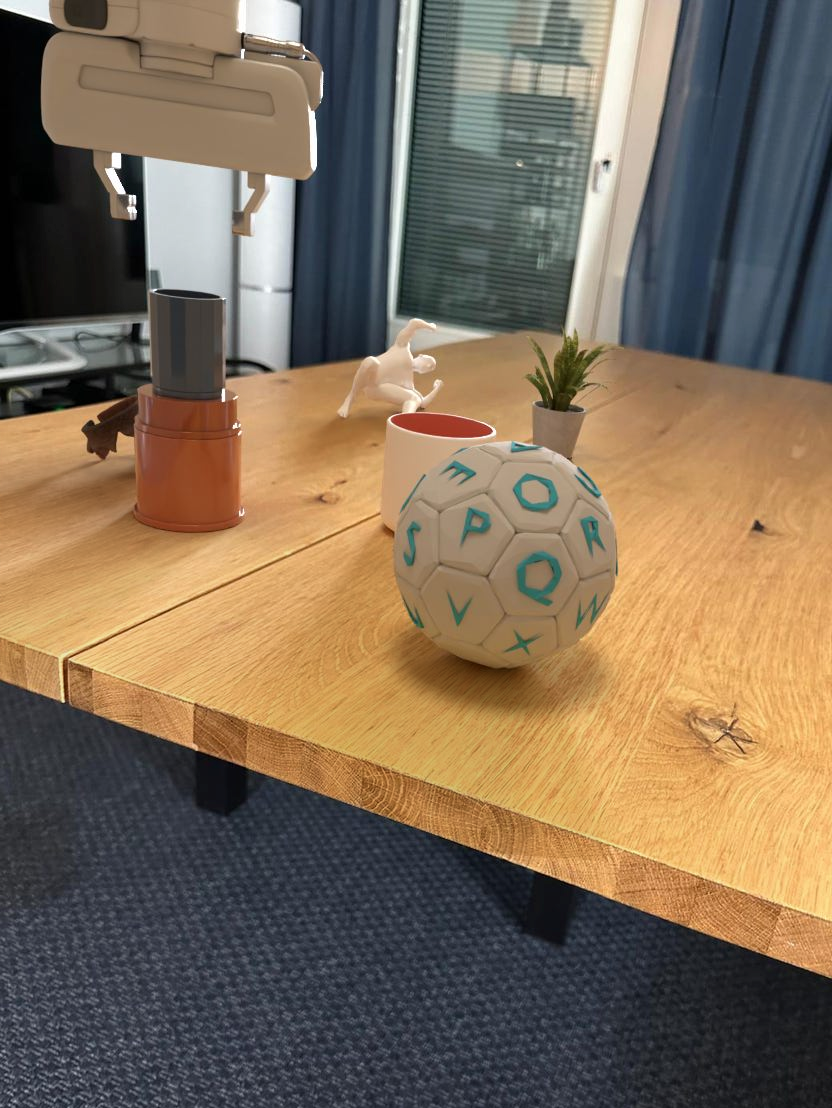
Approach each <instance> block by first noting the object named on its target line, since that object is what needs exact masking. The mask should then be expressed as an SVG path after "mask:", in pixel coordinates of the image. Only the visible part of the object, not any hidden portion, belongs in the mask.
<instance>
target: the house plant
mask: <svg viewBox="0 0 832 1108" xmlns="http://www.w3.org/2000/svg"><path fill="white" fill-rule="evenodd" d="M560 326H561V329H562V334H563V344H562V347H561V349H559V350H558V351H557V352H556V354H555V356H554V359H553V376H552V373H551V370H550V366H549V363H548V360H547V358H546V356H545V353H544V352H543V350H542V348H541V346H539V344H538V343H537V342H536V341H535V340H534V339H533V338H532V337H531V335H528V334H526V333H524V332H522V333H523V335H525V336H526V337H527V339H528V340H529V341H530V342H531V344H529V345H530V347H531V349H533V351H534V353H535V354H536V356H537V357H538V359H539V361H540V364H541V367H542V368H543V371H544V374H545V377H546V380H547V382H548V383H547V382H546V380H545V377H544V375H543V373H542V371H541V369H540V368H539V366H538V365H534V369H535V375H534V374H532V373H528V374H526V375H524V376H522V377H521V380H522V379H526V380H527V381H529V382H530V383H531V384H532V385H533V386H534V387H535V388H536V389H537V390H538V392H539V394H540V396H541V400H535V401H533V402H532V404H531V407H532V409H531V410H532V414H531V415H532V445H536V446H545V448H547V449H549V450H551V451H554V452H556V453H557V454H561V455H562V456H564V457H565V458H569V459H571V458H572V457H573V454H574V451H575V447H576V445H577V442H578V438H579V435H580V433H581V429H582V427H583V425H584V424H583V423H584V420H585V418H586V415H587V409H586V408H585V407H583V406H580V405H577V404H579V402H580V401H582V400H583V399H584V398H585V397H587V396H588V395H590V394H592V392H594V391H595V390H597V389H599V388H600V387H603V388H604V389H606V390H607V391H609V392H610V394H612V392H611V390H610V388H608V387H607V386H605V385H607V384H616V382H615V381H608V382H604V383H602V384H601V383H598V382H589V381H588V380H585V379H586V378H587V376H589V375H590V374H593V373H594V371H593V369H594V368H595V367H597V366H598V365H599V364H601V363H603V362H605V361H617V358H605V359H602V360H600V361H598V362H597V363H596V364H594V366H593V367H592V368H591V369H590V370H589V371H587V372H586V370H587V369H588V368H589V367H590V366H591V365H592V364H593V363H594V361H596V360H597V359H598V358H599V357H601V356H602V355H604V354H606V353H608V352H610V351H614V350H618V349H619V350H621V349H622V350H627V349H629V350H630V349H631V348H629V347H621V346H619V347H618V346H617V347H611V348H607V349H605V347H607V346H610V345H612V344H613V343H611V342H610V343H604V344H602V345H598V346H597V347H595V348H594V349H593V348H589V349H583V350H581V351H579V345H580V344H579V334H578V331H577V329H576V328H574V330H573V339H572V338H571V336H570V335H568V336H567V335H566V331H565V328H564V326H563V325H562V324H560ZM603 349H605V350H603ZM588 351H589V353H588V354H587V355H586V353H587V352H588ZM585 355H586V356H585ZM548 385H549V386H548ZM589 386H597V387H595V388H594V389H592V390H591V391H589V392H588V393H586V394H585V395H584V396H583V397H582V398H580V399H579V400H578V401H576V403H571V402H572V401H573V400H574V398H575V397H576V396H577V395H578V393H579V392H582V391H584V390H585V389H586V388H587V387H589ZM549 387H550V388H549ZM550 391H551V392H550Z"/></svg>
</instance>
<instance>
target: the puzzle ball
mask: <svg viewBox="0 0 832 1108" xmlns="http://www.w3.org/2000/svg"><path fill="white" fill-rule="evenodd" d="M403 509H404V510H403ZM402 511H403V512H402ZM401 512H402V514H401V516H400V518H399V520H398V522H397V529H396V531H395V532H394V533H393V534H394V536H393V549H392V551H393V572H394V573H393V574H394V577H395V580H396V584H397V587H398V591H399V594H400V597H401V600H402V603H403V606H404V608H405V609H406V611H407V614H408V616H409V618H410V619H411V622H412V623H413V624H414V625H415V627H417V628H419V630H420V631H421V632H422V633H423V634H424V635H425V637H427V638H428V639H429V640H430V641H431V642H433V643H434V644H435V646H436V647H439V648H441V649H442V650H444V651H446V652H449V653H451V654H452V655H454V656H456V657H458V658H460V659H462V660H466V661H469V662H472V663H475V664H479V665H481V666H486V667H488V668H492V669H502V668H505V669H509V670H510V669H513V668H518V667H522V666H525V665H529V664H532V663H535V662H539V661H541V660H544V659H547V658H551V657H553V656H554V655H557V654H559V653H561V652H563V651H565V650H567V649H569V648H571V647H574V646H576V645H577V644H578V643H579V642H580V641H581V639H583V638H584V637H585V636H586V635H588V633H589V632H591V630H592V629H593V627H594V626H595V625H596V623H597V621H598V620H599V619H600V617H601V616H602V614H603V613H604V612H605V611H606V610H607V607H608V604H609V602H610V600H611V596H612V594H613V592H614V590H615V588H616V577H618V575H619V563H618V545H617V540H616V528H615V520H614V516H613V513H612V511H611V510H610V506H609V504H608V502H607V500H606V498H605V497H604V496H603V493H602V492H601V490H600V489H599V487H598V486H597V484H596V483H595V482H594V481H593V479H592V478H591V476H590V475H589V474H588V473H587V472H586V471H585V470H583V469H582V468H581V467H579V466H577V465H575V464H574V463H573V462H572V461H570V460H569V459H566V458H565V457H564V456H562V455H561V454H557V453H556V452H554V451H551V450H549V449H547V448H545V446H536V445H533V444H530V443H525V442H520V441H516V440H506V441H495V442H492V443H487V444H481V445H475V446H472V447H469V448H462V449H460V450H459V451H457V452H456V453H454V454H453V455H451V456H450V457H448V458H446V459H443V461H442V462H441V463H440V464H439V465H438V466H436V467H433V468H432V469H431V470H430V472H429V473H428V474H427V475H425V474H424V475H423V476H422V478H421V479H420V481H419V482H418V484H417V485H416V487H415V488H414V489H413V491H412V492H411V494H410V495H409V497H408V498H407V500H406V501H405V503H404V504H403V506H402V508H401V511H400V513H401ZM400 513H399V515H400Z"/></svg>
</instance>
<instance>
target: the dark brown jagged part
mask: <svg viewBox="0 0 832 1108" xmlns="http://www.w3.org/2000/svg"><path fill="white" fill-rule="evenodd" d="M137 414H138V399H137V394H136V395H131V396H129V397H126V398H124V399H122V400H120V401H118V402H116V403H114V404H112V405H111V406H109V407H108V408H106V409H104V410H103V411H101V412H100V413H98V414H97V415H96V419H97V421H98V423H95V421H94V420H93V419H89V420H88V421H87V422H86V423H85V424H84V425H82V427H81V429H80V432H82V433H83V434H84V436H85V437H86V438H87V439H86V452H87V453H89V454H95V455H96V456H97V457H98V458H99V459H101V460H102V461H105V460H106V458H107V456H109V454H110V452H112V453H114V454H115V453H116V454H117V452H118V449H117V444H118V443H117V442H118V437H119V433H121V434H122V435H123V436H126V437H129V438H130V437H131V438H134V423H135V416H136V415H137Z"/></svg>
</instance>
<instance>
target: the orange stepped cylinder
mask: <svg viewBox="0 0 832 1108" xmlns="http://www.w3.org/2000/svg"><path fill="white" fill-rule="evenodd" d="M136 395H137V399H138V414H137V415H136V416H135V423H134V437H133V441H134V442H133V445H134V467H135V468H134V469H135V492H136V496H135V497H136V502H135V504H134V505H133V508H132V509H133V516H134V518H135V519H136V520H137V521H139V522H141V524H144V525H147V526H149V527H152V528H156V529H160V530H165V531H172V532H182V533H203V532H206V533H207V532H216V531H219V530H220V531H221V530H225V529H229V528H232V527H234V526H237V525H238V524H240V523H241V522H243V520H244V518H245V509H244V507H243V506H242V428H241V422H240V420H239V419H238V395H237V393H235V392H234V391H233V390H230V389H227V388H225V395H224V396H223V397H221V398H217V399H209V400H187V399H177V398H171V397H166V396H162V395H159V394H156V393H154V392H153V391H152V383H148V384H144V385H141V386H138V387H137V389H136Z"/></svg>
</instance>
